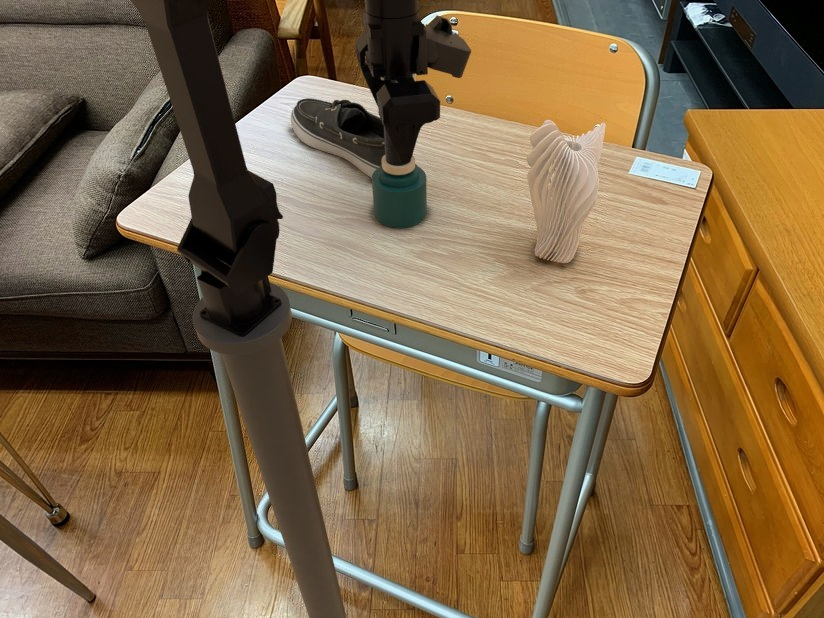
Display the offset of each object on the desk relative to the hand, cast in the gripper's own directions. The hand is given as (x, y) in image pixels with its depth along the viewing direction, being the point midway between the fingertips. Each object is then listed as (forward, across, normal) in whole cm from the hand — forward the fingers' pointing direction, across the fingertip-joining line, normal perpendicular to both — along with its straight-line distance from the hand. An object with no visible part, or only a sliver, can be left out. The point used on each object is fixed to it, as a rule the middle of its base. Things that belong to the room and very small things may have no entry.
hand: (397, 143), depth 81 cm
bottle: (+10, 0, 0) cm, 10 cm away
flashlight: (+2, 0, 0) cm, 2 cm away
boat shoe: (+10, +18, +4) cm, 21 cm away
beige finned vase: (+10, -13, -17) cm, 24 cm away
